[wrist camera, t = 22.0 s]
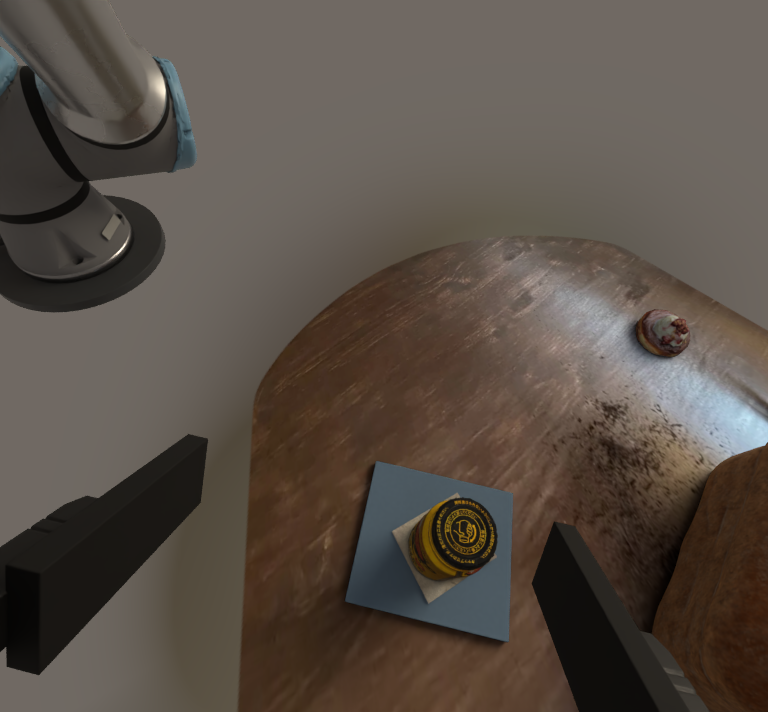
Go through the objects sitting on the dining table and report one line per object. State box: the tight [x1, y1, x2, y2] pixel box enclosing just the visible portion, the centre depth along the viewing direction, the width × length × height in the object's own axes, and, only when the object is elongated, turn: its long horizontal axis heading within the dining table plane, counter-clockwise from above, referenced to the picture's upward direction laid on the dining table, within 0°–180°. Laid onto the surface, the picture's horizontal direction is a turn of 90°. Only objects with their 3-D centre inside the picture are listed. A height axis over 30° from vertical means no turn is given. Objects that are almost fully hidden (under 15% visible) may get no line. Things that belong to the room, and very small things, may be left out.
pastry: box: [636, 310, 690, 357], centre depth 57 cm, size 8×8×5 cm
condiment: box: [392, 493, 498, 604], centre depth 35 cm, size 7×8×12 cm
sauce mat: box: [345, 461, 513, 642], centre depth 41 cm, size 16×14×1 cm
